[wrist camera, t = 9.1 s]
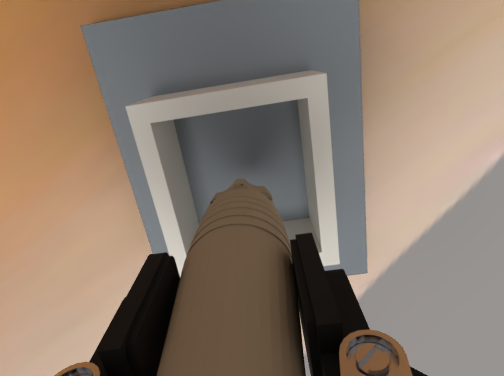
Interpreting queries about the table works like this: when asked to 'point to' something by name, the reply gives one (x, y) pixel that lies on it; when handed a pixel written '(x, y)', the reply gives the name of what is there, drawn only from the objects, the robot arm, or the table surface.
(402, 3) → the table surface
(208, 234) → the handle
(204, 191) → the socket
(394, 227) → the table surface
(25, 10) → the table surface
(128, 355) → the robot arm
